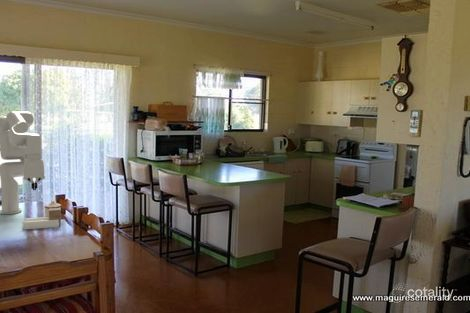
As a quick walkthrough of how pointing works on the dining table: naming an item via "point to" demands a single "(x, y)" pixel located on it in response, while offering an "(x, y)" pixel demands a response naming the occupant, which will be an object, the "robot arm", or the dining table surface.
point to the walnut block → (55, 214)
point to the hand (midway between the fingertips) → (34, 189)
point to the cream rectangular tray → (39, 223)
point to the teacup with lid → (51, 205)
